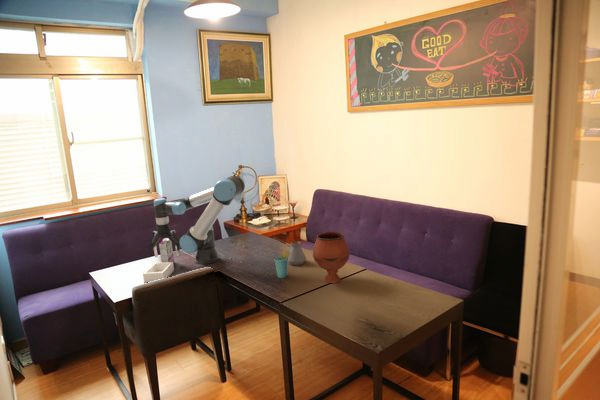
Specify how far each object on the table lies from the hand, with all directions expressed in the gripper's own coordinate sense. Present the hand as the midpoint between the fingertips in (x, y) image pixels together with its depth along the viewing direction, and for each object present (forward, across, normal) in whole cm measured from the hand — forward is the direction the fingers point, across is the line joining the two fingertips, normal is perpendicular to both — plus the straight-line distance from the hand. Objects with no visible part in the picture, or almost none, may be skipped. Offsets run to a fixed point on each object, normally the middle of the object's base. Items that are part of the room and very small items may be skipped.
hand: (167, 256), depth 255 cm
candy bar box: (+6, 0, 0) cm, 6 cm away
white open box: (+6, -1, +18) cm, 19 cm away
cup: (+6, -73, +28) cm, 78 cm away
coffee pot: (+6, -77, +5) cm, 77 cm away
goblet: (+6, -101, +36) cm, 107 cm away
